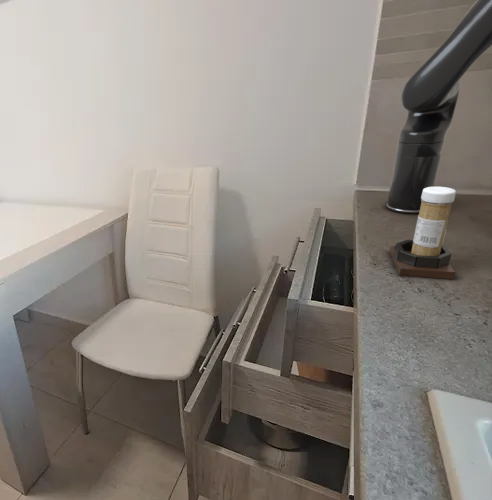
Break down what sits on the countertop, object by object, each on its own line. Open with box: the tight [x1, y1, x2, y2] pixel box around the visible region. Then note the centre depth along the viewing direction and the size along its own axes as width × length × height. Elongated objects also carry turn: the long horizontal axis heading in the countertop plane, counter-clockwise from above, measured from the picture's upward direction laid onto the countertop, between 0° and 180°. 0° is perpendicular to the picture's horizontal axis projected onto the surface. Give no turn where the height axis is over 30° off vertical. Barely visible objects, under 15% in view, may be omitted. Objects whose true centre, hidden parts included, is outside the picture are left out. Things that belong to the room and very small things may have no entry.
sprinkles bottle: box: [411, 186, 457, 256], centre depth 66 cm, size 5×5×13 cm
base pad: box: [389, 239, 456, 280], centre depth 69 cm, size 10×8×4 cm
